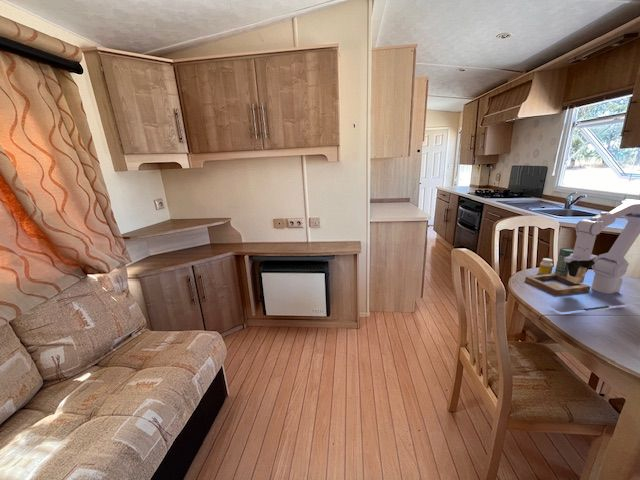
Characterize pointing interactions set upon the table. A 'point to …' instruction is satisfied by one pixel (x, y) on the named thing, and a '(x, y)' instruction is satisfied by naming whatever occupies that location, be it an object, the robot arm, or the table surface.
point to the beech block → (577, 276)
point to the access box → (556, 284)
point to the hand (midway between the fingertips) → (576, 275)
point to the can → (561, 264)
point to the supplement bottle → (545, 266)
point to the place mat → (597, 308)
